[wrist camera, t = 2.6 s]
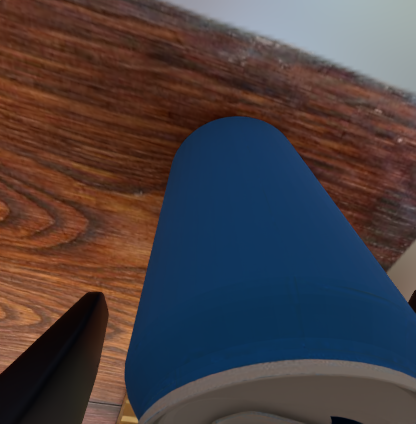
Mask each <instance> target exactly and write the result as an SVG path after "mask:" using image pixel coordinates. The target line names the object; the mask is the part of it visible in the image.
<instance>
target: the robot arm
mask: <svg viewBox="0 0 416 424" xmlns="http://www.w3.org/2000/svg"><path fill="white" fill-rule="evenodd" d="M408 304H409V305H410V307H411V308H412V309H413V311H414V312H415V313H416V290H415V291H414V293H413V294H412V296H411V298H410V300H409V302H408ZM108 316H109V313H108V308H107V304H106V301H105V297H104V294H103V293H102V292H88V293H86V294H85V295H84V296H83V297H82V298H81V299H80V300H79V301H77V302H76V303H75V304H74V305H73V306H72V307H71V308H70V309H69V310H68V311H67V312H66V313H65V314H64V315H63V316H62V317H61V318H59V319H58V320H57V321H56V322H55V323H54V324H53V325H52V326H51V327H50V328H49V329H48V330H47V331H46V332H45V333H44V334H43V335H41V336H40V337H39V338H38V339H37V340H36V341H35V342H34V343H33V344H32V345H31V346H30V347H29V348H28V349H27V350H26V351H25V352H23V353H22V354H21V355H20V356H19V357H18V358H17V359H16V360H15V361H14V362H13V363H12V364H11V365H10V366H9V367H8V368H7V369H5V370H4V371H3V372H2V373H1V374H0V424H82V421H83V418H84V414H85V411H86V408H87V405H88V402H89V398H90V395H91V392H92V389H93V385H94V382H95V379H96V375H97V372H98V367H99V363H100V358H101V353H102V347H103V342H104V337H105V332H106V327H107V322H108Z"/></svg>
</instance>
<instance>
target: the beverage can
mask: <svg viewBox="0 0 416 424" xmlns="http://www.w3.org/2000/svg"><path fill="white" fill-rule="evenodd" d="M125 384H126V390H127V395H128V399H129V402H130V405H131V407H132V409H133V411H134V413H135V415H136V417H137V419H138V424H416V313H415V312H414V311H413V309H412V308H411V307H410V305H409V304H408V302H407V301H406V300H405V298H404V297H403V296H402V294H401V293H400V292H399V290H398V289H397V287H396V286H395V285H394V283H393V282H392V281H391V280H390V278H389V277H388V275H387V274H386V272H385V271H384V270H383V268H382V267H381V266H380V264H379V263H378V262H377V260H376V259H375V257H374V256H373V255H372V253H371V252H370V251H369V249H368V248H367V247H366V245H365V244H364V242H363V241H362V240H361V238H360V237H359V236H358V234H357V233H356V232H355V230H354V229H353V228H352V226H351V225H350V223H349V222H348V221H347V219H346V218H345V217H344V215H343V214H342V213H341V211H340V210H339V208H338V207H337V206H336V204H335V203H334V202H333V200H332V199H331V198H330V196H329V195H328V193H327V192H326V191H325V189H324V188H323V187H322V185H321V184H320V183H319V181H318V180H317V178H316V177H315V176H314V174H313V173H312V172H311V170H310V169H309V168H308V166H307V165H306V163H305V162H304V161H303V159H302V158H301V157H300V155H299V154H298V153H297V151H296V150H295V149H294V147H293V146H292V144H291V143H290V142H289V140H288V139H287V138H286V137H285V136H284V135H283V134H282V133H281V132H280V131H279V130H278V129H276V128H275V127H274V126H272V125H270V124H268V123H266V122H264V121H261V120H258V119H255V118H250V117H241V116H234V117H225V118H221V119H217V120H214V121H211V122H209V123H207V124H205V125H203V126H201V127H199V128H198V129H197V130H195V131H194V132H193V133H191V134H190V135H189V136H188V137H187V138H186V139H185V140H184V142H183V143H182V144H181V146H180V147H179V149H178V150H177V152H176V154H175V157H174V159H173V162H172V166H171V170H170V174H169V178H168V183H167V187H166V191H165V195H164V200H163V204H162V208H161V212H160V217H159V221H158V225H157V229H156V234H155V238H154V242H153V247H152V251H151V255H150V259H149V264H148V268H147V272H146V276H145V281H144V285H143V289H142V293H141V298H140V302H139V306H138V311H137V315H136V319H135V323H134V328H133V332H132V336H131V340H130V345H129V349H128V353H127V358H126V362H125Z"/></svg>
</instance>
